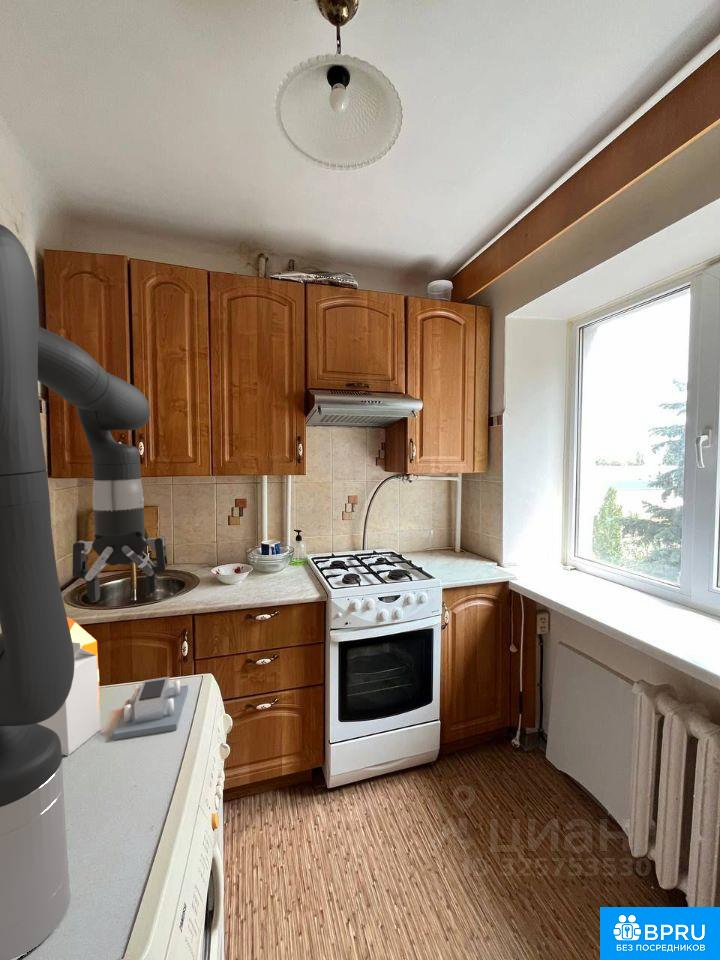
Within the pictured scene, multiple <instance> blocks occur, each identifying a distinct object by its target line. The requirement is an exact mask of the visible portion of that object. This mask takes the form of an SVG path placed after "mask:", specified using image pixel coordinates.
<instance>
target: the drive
mask: <svg viewBox="0 0 720 960" xmlns="http://www.w3.org/2000/svg"><path fill="white" fill-rule="evenodd" d="M140 686H141V689H140V691H139V694H138V696H137V699H136V701H135V704H134V710H135V723H141V722H146V721H152V720H157V719H163V718H164V714H165V710H166V706H167V700H168V699H169V695H170V688H171V687H170V686H171V685H170V676H165V677H164V676H163V677H158V678H152V679H145V680H143V681H142V683H141V685H140Z"/></svg>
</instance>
